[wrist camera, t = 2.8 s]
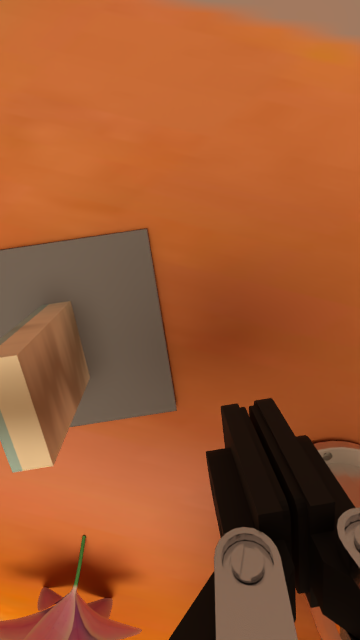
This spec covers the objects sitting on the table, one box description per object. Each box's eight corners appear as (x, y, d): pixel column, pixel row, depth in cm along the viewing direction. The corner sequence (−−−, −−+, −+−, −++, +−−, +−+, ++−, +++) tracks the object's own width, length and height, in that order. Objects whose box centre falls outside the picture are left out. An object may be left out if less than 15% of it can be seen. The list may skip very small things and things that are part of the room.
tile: (90, 377, 24) (53, 466, 16) (63, 381, 24) (12, 472, 16) (70, 301, 23) (16, 355, 14) (41, 305, 23) (-30, 362, 14)
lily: (-6, 542, 32) (-49, 692, 25) (49, 520, 25) (10, 713, 19) (102, 550, 38) (89, 672, 31) (168, 534, 31) (169, 682, 25)
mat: (176, 404, 27) (176, 410, 26) (-95, 446, 26) (-102, 453, 26) (147, 228, 22) (146, 229, 21) (-179, 276, 22) (-191, 278, 21)
